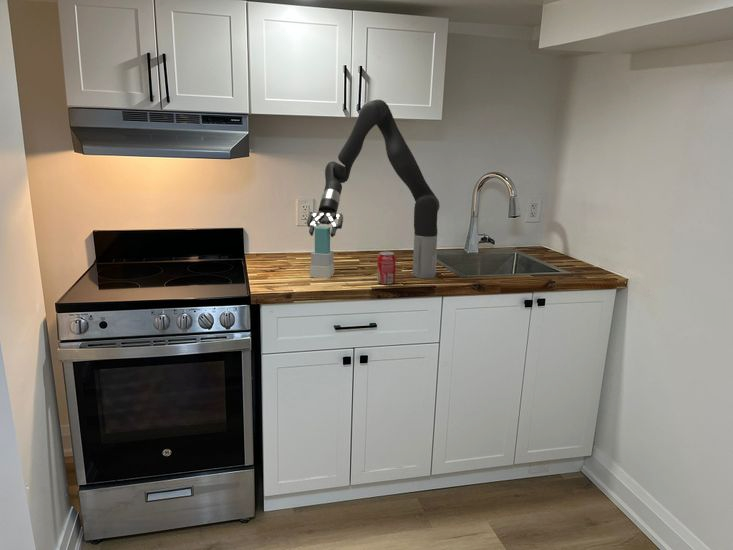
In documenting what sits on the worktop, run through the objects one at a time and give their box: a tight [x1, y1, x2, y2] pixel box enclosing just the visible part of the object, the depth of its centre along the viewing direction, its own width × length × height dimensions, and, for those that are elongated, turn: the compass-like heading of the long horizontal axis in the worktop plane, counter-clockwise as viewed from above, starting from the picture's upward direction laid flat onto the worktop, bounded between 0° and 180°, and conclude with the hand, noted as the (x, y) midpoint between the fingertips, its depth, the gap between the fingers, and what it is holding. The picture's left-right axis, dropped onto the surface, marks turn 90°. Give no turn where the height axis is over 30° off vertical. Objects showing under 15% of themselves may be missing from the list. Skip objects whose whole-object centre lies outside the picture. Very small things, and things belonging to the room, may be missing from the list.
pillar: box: [314, 225, 331, 254], centre depth 219 cm, size 5×5×10 cm
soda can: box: [376, 251, 397, 285], centre depth 213 cm, size 7×7×12 cm
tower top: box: [310, 250, 334, 267], centre depth 221 cm, size 7×7×5 cm
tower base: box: [309, 262, 335, 280], centre depth 222 cm, size 8×8×5 cm
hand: (321, 235), depth 217 cm, fingers open, 8 cm apart
